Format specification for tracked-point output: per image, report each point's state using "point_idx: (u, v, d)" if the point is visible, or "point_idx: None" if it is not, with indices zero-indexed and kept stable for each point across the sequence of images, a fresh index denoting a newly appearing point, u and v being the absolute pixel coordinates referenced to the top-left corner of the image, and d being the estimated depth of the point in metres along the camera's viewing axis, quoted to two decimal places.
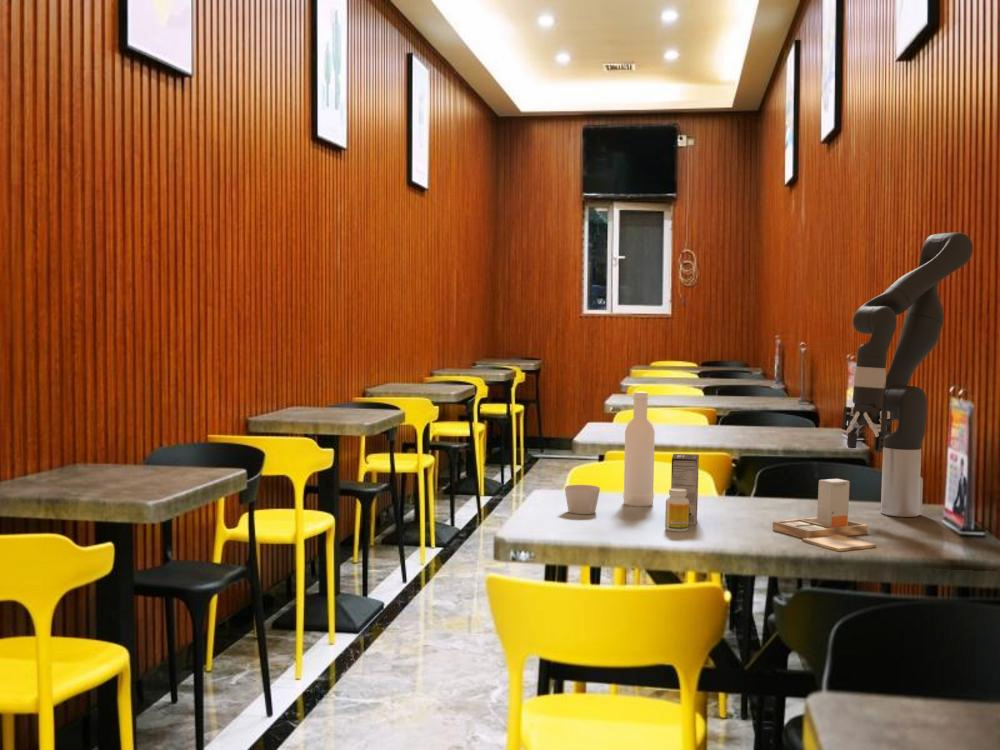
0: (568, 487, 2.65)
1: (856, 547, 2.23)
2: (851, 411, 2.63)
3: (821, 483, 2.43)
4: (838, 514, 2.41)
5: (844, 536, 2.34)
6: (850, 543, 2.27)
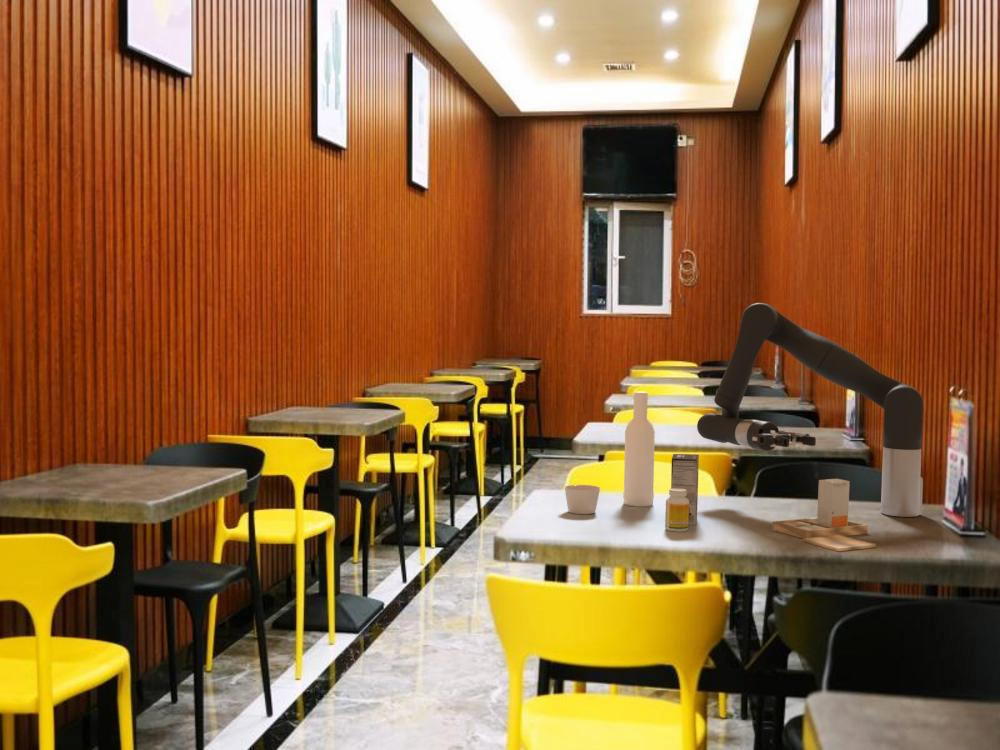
0: (568, 487, 2.65)
1: (856, 547, 2.23)
2: (790, 439, 2.63)
3: (821, 483, 2.43)
4: (838, 514, 2.41)
5: (844, 536, 2.34)
6: (850, 543, 2.27)
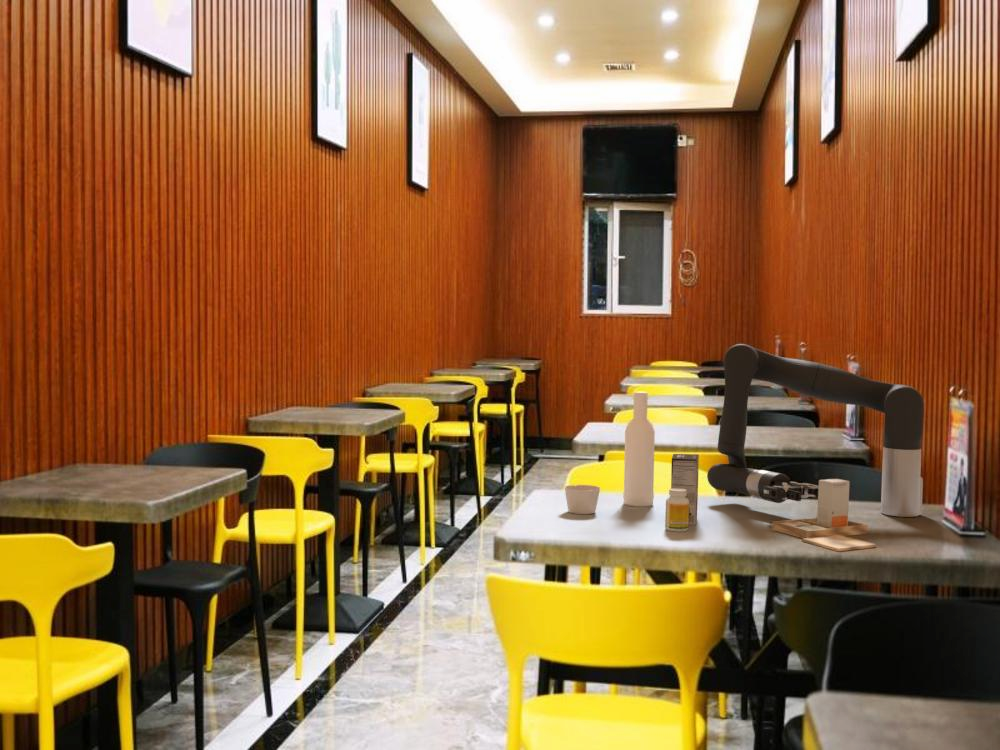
0: (568, 487, 2.65)
1: (856, 547, 2.23)
2: (802, 490, 2.60)
3: (821, 483, 2.43)
4: (838, 514, 2.41)
5: (844, 536, 2.34)
6: (850, 543, 2.27)
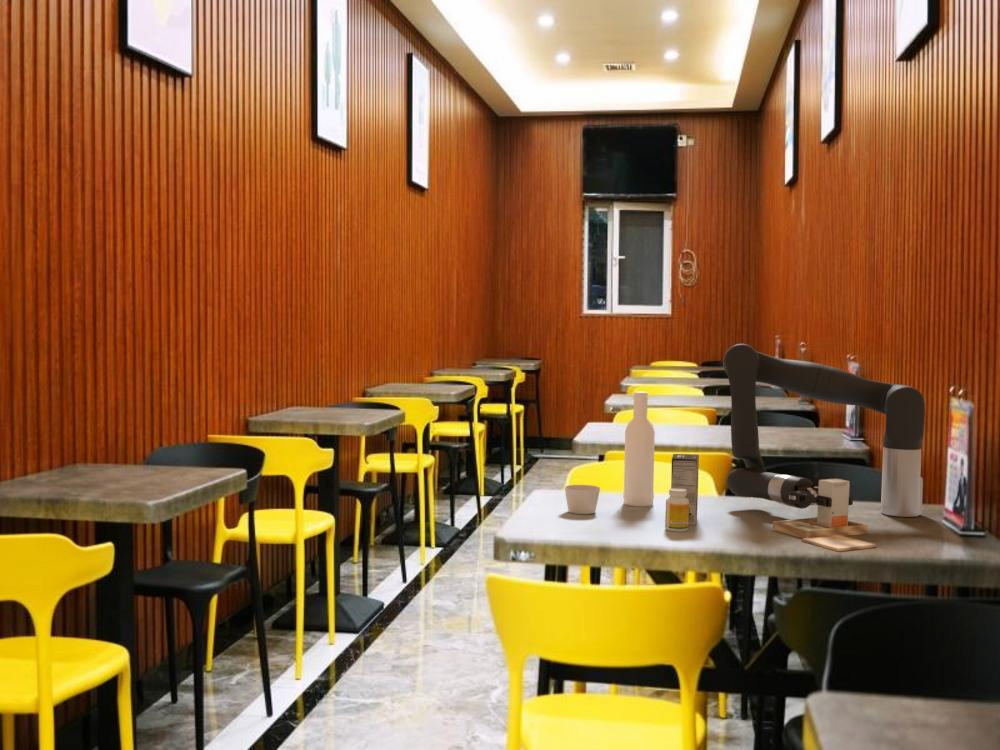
0: (568, 487, 2.65)
1: (856, 547, 2.23)
2: None
3: (821, 483, 2.43)
4: (838, 514, 2.41)
5: (844, 536, 2.34)
6: (850, 543, 2.27)
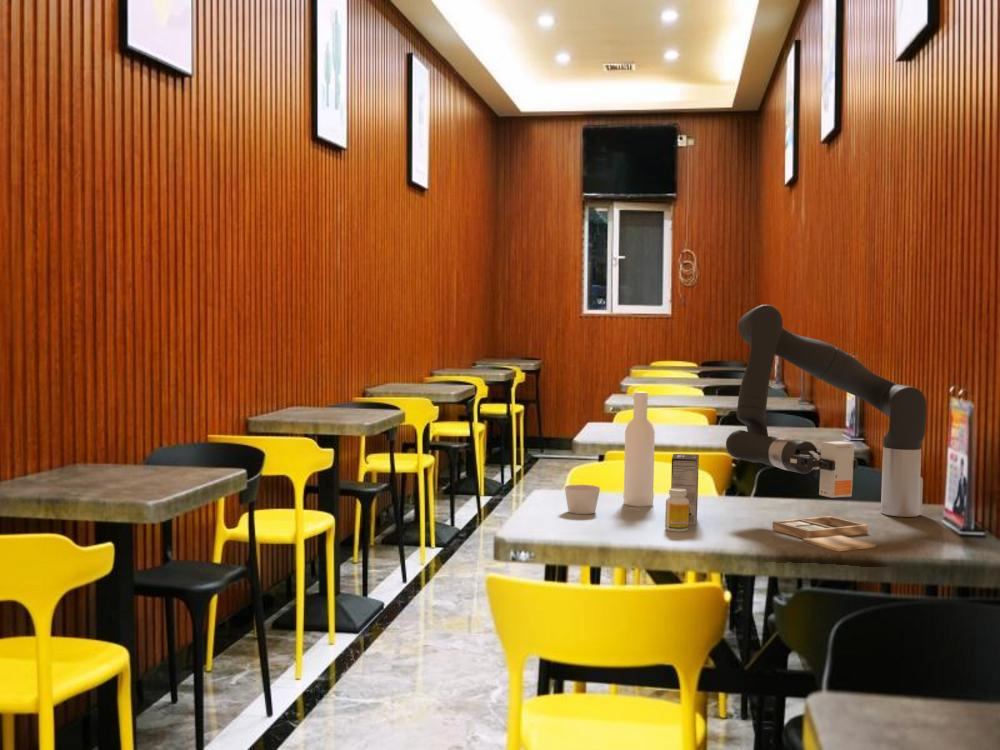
0: (568, 487, 2.65)
1: (856, 547, 2.23)
2: None
3: (824, 445, 2.28)
4: (842, 478, 2.27)
5: (844, 536, 2.34)
6: (850, 543, 2.27)
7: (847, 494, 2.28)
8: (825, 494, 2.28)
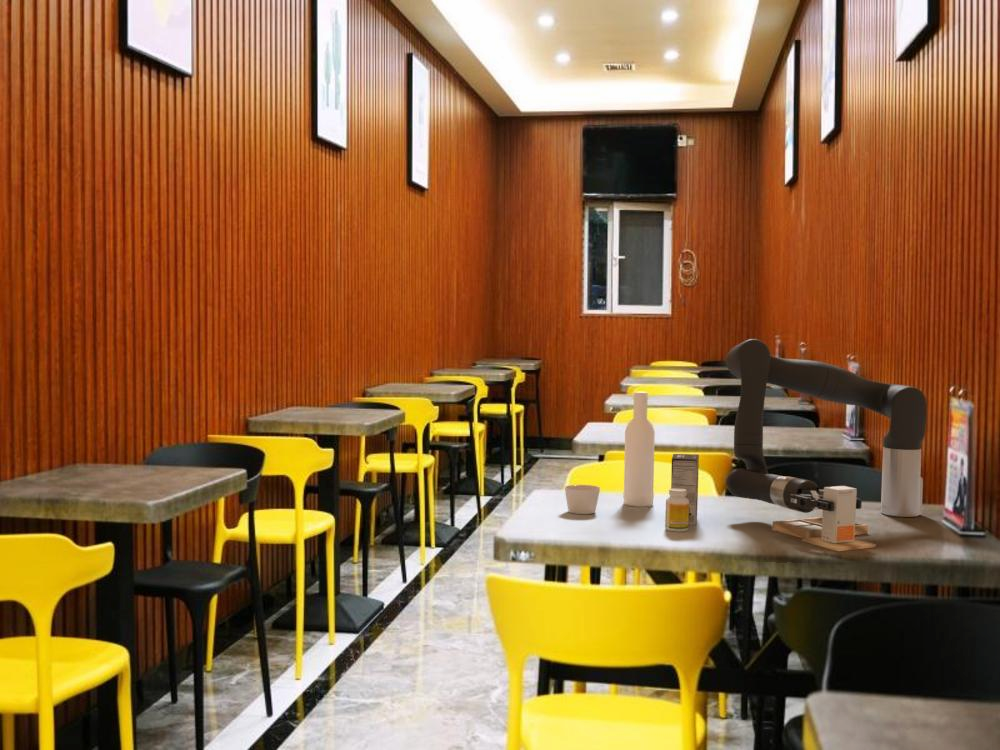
0: (568, 487, 2.65)
1: (856, 547, 2.23)
2: None
3: (826, 491, 2.28)
4: (844, 524, 2.26)
5: None
6: (850, 543, 2.27)
7: (849, 539, 2.27)
8: (827, 539, 2.27)
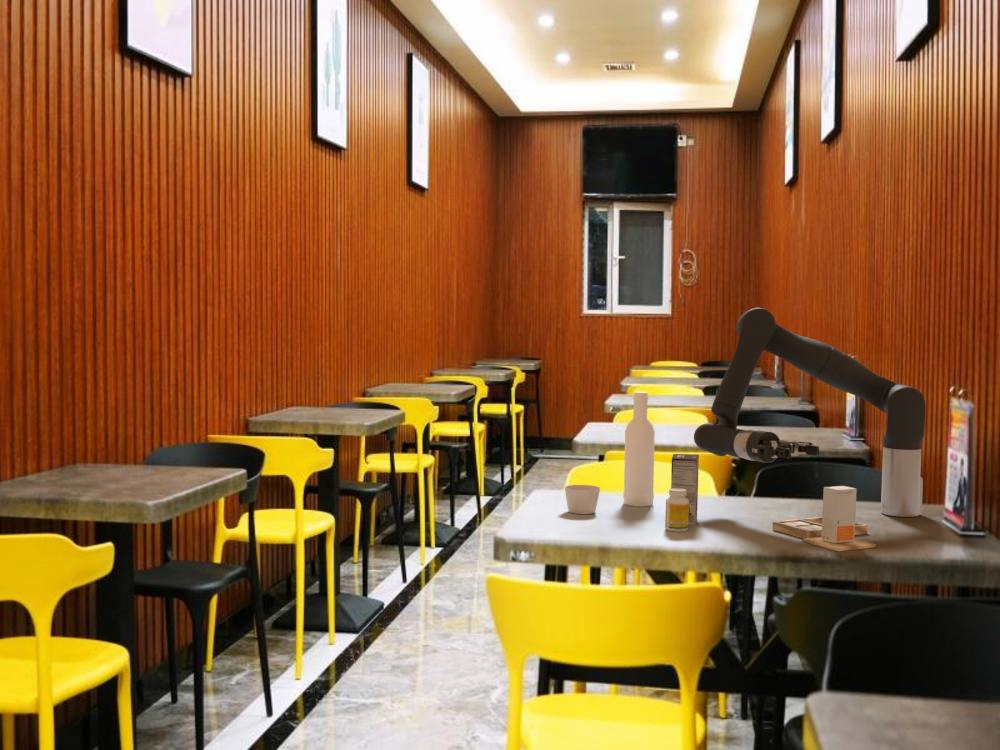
0: (568, 487, 2.65)
1: (856, 547, 2.23)
2: (792, 448, 2.49)
3: (826, 491, 2.28)
4: (844, 524, 2.26)
5: None
6: (850, 543, 2.27)
7: (849, 539, 2.27)
8: (827, 540, 2.27)
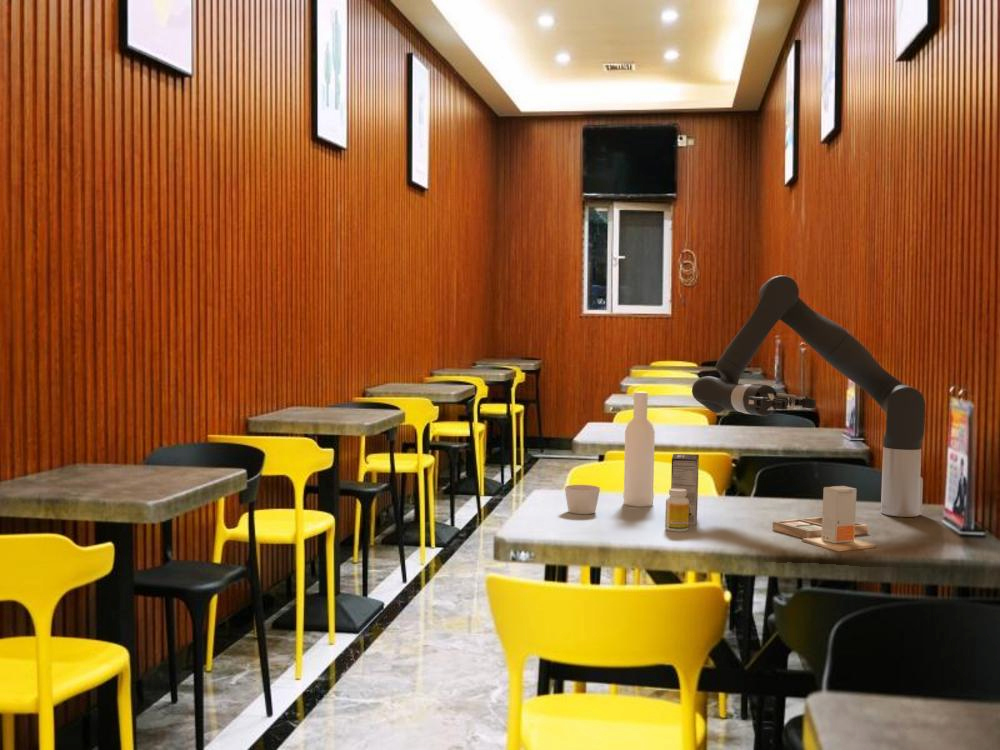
0: (568, 487, 2.65)
1: (856, 547, 2.23)
2: (788, 402, 2.49)
3: (826, 491, 2.28)
4: (844, 524, 2.26)
5: None
6: (850, 543, 2.27)
7: (849, 539, 2.27)
8: (827, 540, 2.27)
